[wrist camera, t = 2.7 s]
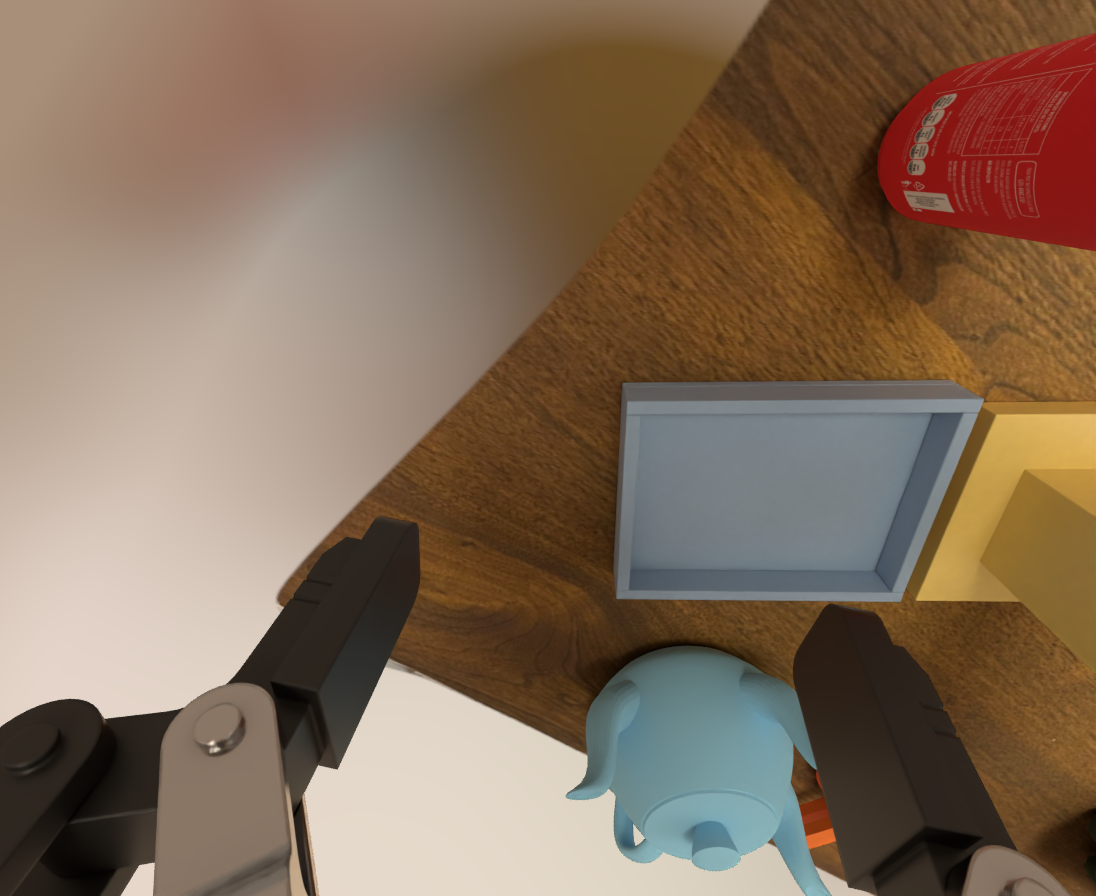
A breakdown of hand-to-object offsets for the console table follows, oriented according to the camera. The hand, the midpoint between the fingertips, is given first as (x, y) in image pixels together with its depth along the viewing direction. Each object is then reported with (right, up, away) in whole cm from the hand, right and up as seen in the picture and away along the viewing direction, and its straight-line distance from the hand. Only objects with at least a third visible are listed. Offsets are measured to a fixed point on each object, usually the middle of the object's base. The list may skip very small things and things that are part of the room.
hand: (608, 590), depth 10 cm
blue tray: (+11, +1, +18) cm, 21 cm away
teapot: (+9, -14, +27) cm, 31 cm away
